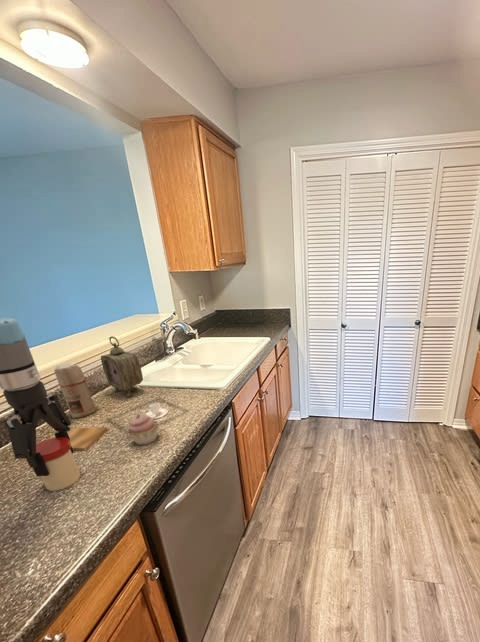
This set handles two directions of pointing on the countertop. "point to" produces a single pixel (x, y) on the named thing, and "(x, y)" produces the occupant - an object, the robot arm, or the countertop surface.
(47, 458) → the lid
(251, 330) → the countertop surface
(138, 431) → the cupcake
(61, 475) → the jar
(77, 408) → the tan tall cylinder
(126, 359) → the tabletop clock
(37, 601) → the countertop surface
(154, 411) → the teacup and saucer
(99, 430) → the board
